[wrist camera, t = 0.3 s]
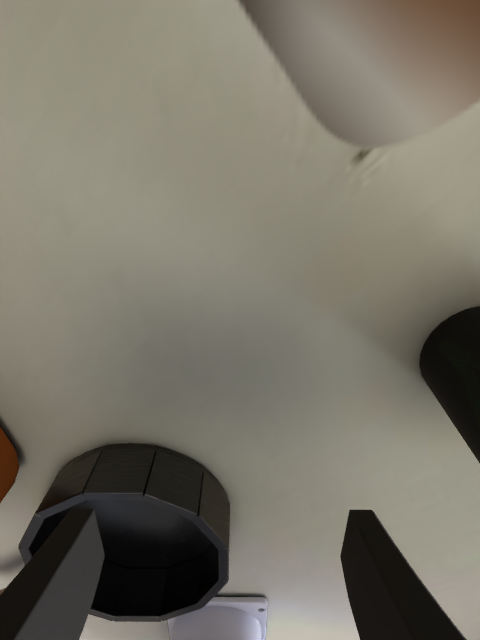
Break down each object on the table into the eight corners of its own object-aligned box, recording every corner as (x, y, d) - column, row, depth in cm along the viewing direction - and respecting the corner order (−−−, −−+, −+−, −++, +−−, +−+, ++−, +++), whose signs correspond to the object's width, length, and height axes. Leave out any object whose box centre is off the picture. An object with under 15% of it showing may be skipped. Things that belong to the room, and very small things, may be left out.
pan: (165, 414, 20) (151, 462, 17) (260, 533, 25) (264, 589, 21) (-67, 524, 24) (-114, 580, 21) (51, 610, 28) (27, 667, 25)
